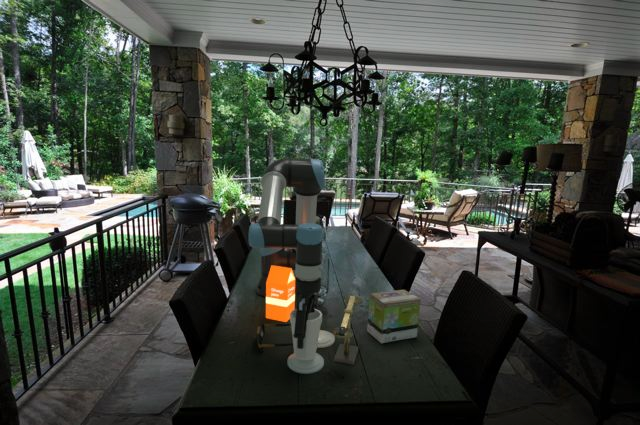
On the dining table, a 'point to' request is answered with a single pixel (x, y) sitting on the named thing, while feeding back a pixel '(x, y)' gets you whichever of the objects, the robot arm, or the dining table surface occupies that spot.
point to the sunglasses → (262, 332)
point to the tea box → (393, 315)
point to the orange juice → (280, 293)
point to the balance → (346, 333)
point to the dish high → (325, 339)
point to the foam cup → (308, 332)
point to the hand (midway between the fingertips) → (306, 348)
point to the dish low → (305, 364)
